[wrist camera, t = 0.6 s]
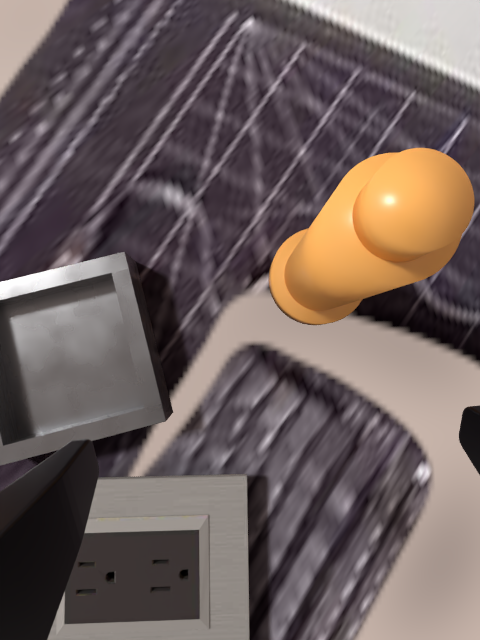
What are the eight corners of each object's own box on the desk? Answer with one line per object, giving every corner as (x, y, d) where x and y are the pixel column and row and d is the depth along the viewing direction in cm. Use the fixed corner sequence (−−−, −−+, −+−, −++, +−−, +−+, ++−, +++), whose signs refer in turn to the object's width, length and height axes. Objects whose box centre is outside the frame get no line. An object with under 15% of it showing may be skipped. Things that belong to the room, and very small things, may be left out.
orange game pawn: (369, 312, 23) (551, 274, 10) (281, 335, 23) (350, 326, 10) (345, 225, 23) (490, 77, 10) (258, 247, 23) (294, 124, 10)
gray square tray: (173, 412, 22) (165, 421, 20) (16, 453, 22) (-12, 468, 19) (136, 261, 23) (124, 251, 20) (-17, 299, 22) (-49, 294, 20)
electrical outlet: (245, 463, 22) (247, 478, 20) (247, 635, 22) (250, 671, 19) (39, 468, 22) (16, 483, 20) (35, 642, 21) (11, 680, 19)
